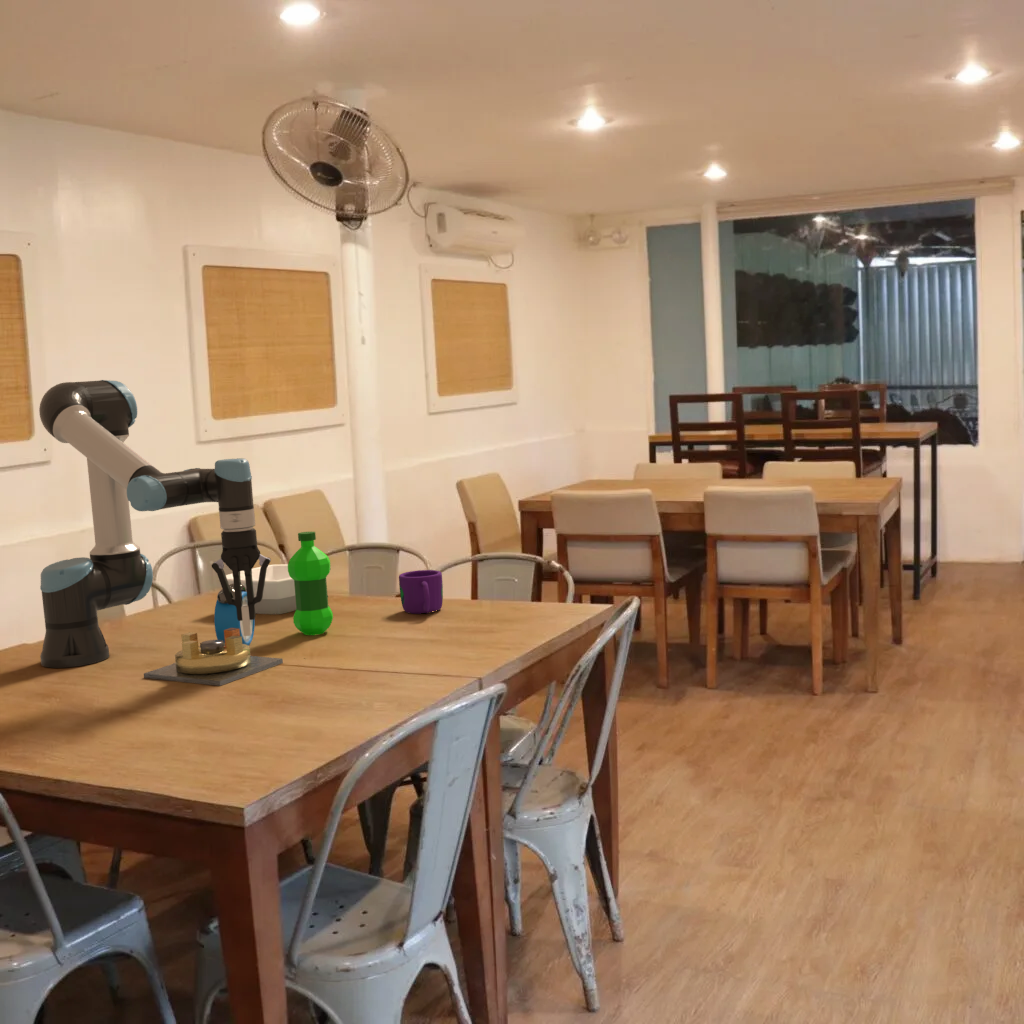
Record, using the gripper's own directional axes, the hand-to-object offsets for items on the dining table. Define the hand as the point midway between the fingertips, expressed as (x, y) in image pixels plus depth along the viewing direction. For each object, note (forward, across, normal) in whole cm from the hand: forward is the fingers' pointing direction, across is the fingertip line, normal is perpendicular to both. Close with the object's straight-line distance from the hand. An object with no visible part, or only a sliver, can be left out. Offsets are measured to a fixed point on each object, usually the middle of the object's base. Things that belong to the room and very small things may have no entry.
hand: (248, 634), depth 271 cm
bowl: (+7, 0, +66) cm, 66 cm away
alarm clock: (+7, -6, +20) cm, 22 cm away
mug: (+7, +40, +44) cm, 60 cm away
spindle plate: (+7, -8, -2) cm, 11 cm away
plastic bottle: (+7, +12, +29) cm, 33 cm away
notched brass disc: (+6, -8, -3) cm, 10 cm away
